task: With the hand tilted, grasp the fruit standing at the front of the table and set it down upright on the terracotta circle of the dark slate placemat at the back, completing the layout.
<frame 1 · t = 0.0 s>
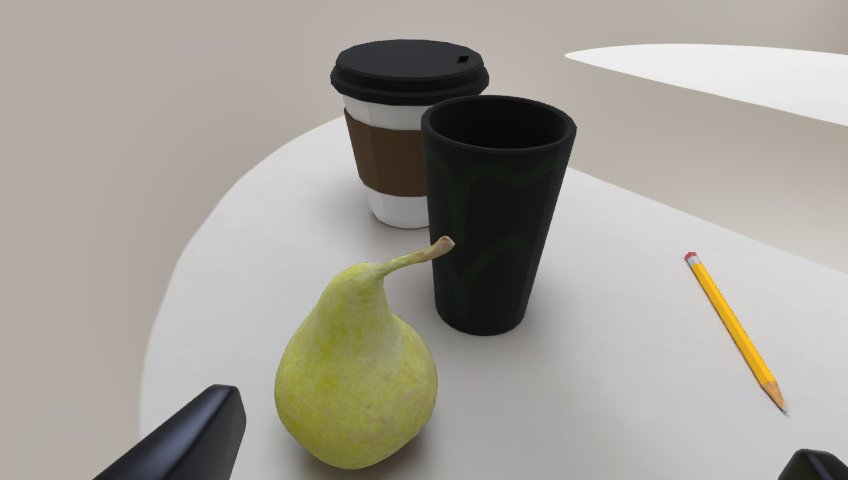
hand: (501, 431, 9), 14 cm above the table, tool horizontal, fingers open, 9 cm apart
coffee cup: (410, 210, 42), on the table
cup: (479, 306, 33), on the table
fruit: (367, 434, 25), on the table
pencil: (727, 327, 32), on the table
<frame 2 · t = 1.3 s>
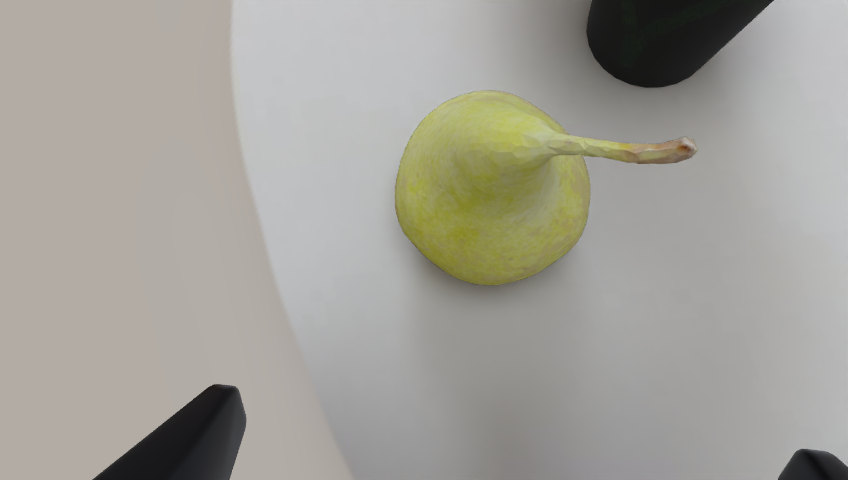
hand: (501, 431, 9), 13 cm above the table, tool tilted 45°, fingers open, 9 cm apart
cup: (648, 33, 24), on the table
fruit: (492, 218, 23), on the table
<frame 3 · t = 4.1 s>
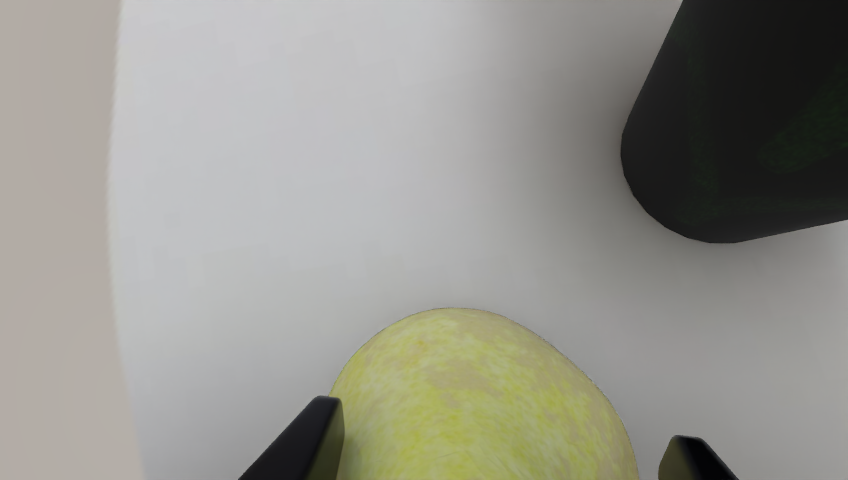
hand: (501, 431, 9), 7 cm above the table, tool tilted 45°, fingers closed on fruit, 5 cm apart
cup: (711, 156, 16), on the table
fruit: (481, 446, 15), on the table, touching gripper
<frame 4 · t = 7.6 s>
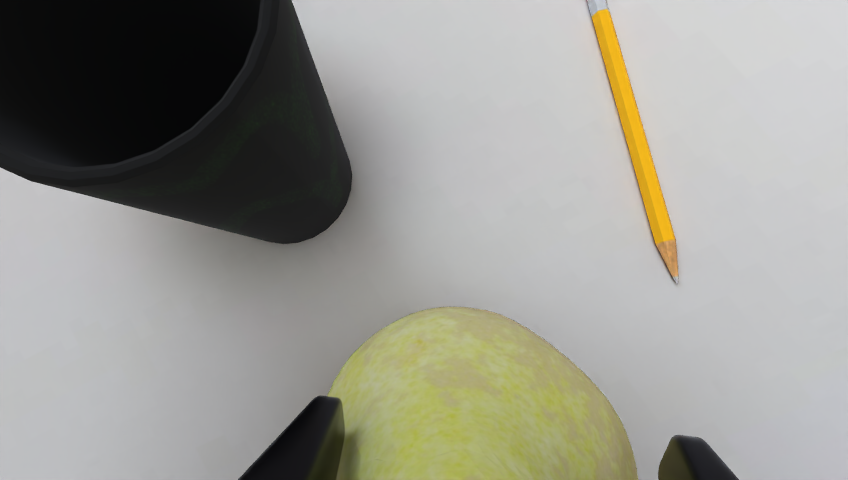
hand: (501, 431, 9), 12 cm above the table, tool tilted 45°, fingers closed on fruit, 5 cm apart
cup: (290, 182, 23), on the table
fruit: (480, 445, 15), point 5 cm above the table, touching gripper
pencil: (629, 132, 22), on the table
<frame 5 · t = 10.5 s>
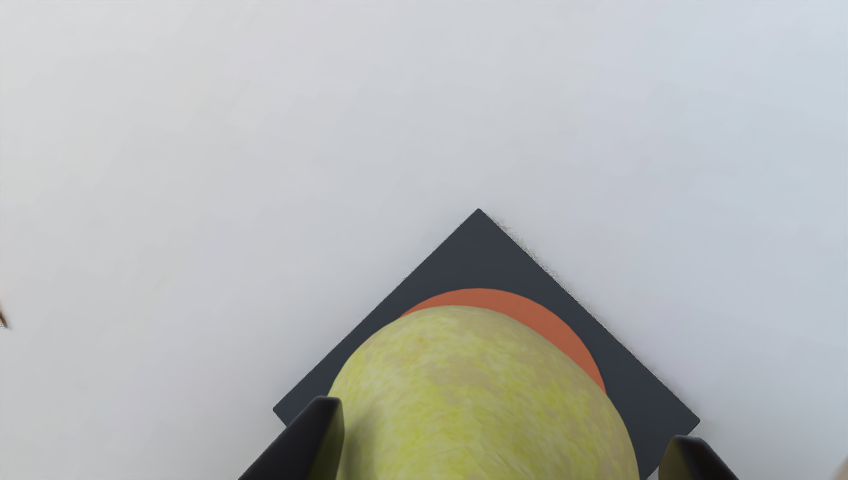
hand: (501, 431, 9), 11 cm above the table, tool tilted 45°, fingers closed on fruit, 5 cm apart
mat: (479, 412, 20), on the table
fruit: (481, 444, 15), point 5 cm above the table, touching gripper
when the fingers open (7 cm above the table, at t = 12.1 s): fruit stays where it is, resting on mat.
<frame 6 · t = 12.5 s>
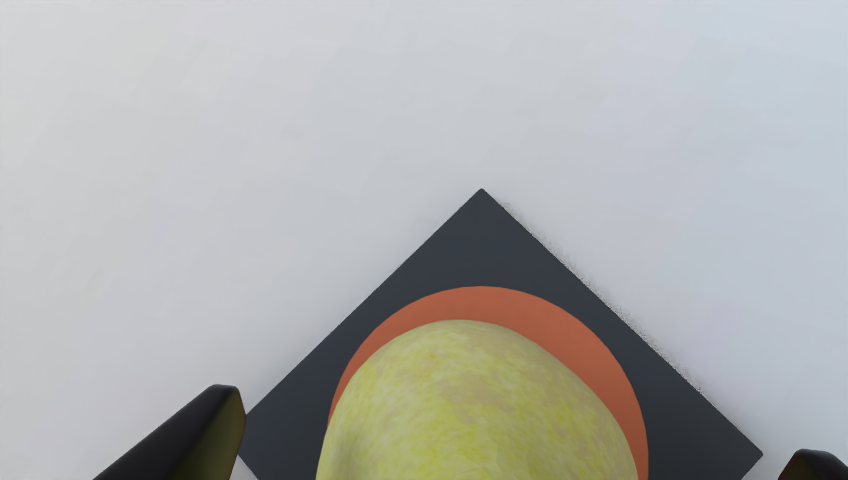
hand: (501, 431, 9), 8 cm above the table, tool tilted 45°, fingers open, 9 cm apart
mat: (482, 441, 16), on the table
fruit: (481, 453, 15), point 1 cm above the table, touching mat
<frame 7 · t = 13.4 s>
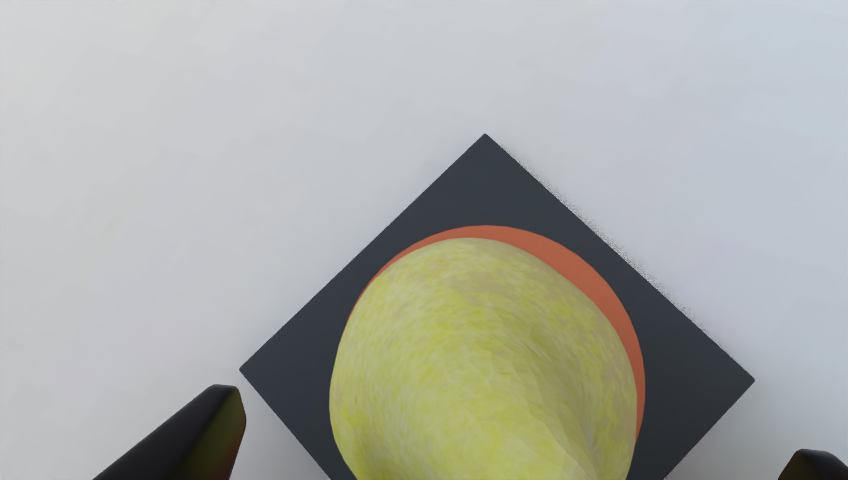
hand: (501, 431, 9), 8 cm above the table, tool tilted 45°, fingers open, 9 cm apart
mat: (486, 373, 16), on the table
fruit: (485, 382, 16), point 1 cm above the table, touching mat
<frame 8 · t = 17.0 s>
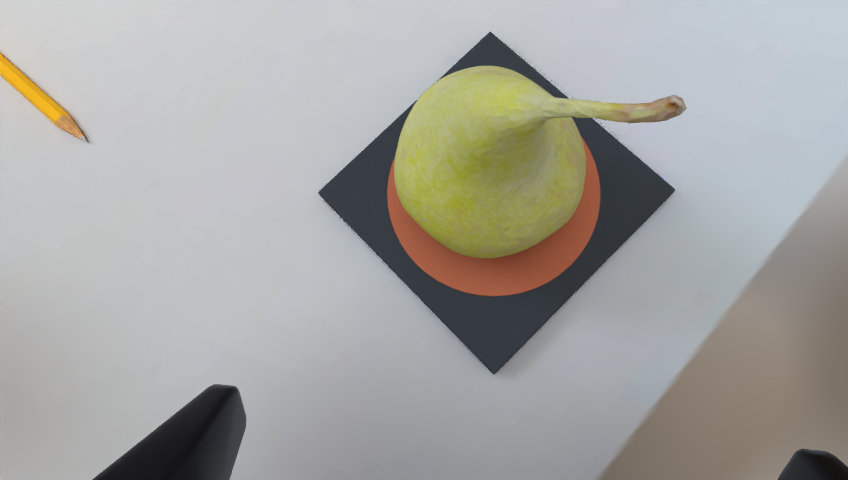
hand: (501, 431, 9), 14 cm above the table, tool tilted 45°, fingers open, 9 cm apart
mat: (491, 194, 23), on the table
fruit: (490, 196, 23), point 1 cm above the table, touching mat
pencil: (10, 70, 27), on the table
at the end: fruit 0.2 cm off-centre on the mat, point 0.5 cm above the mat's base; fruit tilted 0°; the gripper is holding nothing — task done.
